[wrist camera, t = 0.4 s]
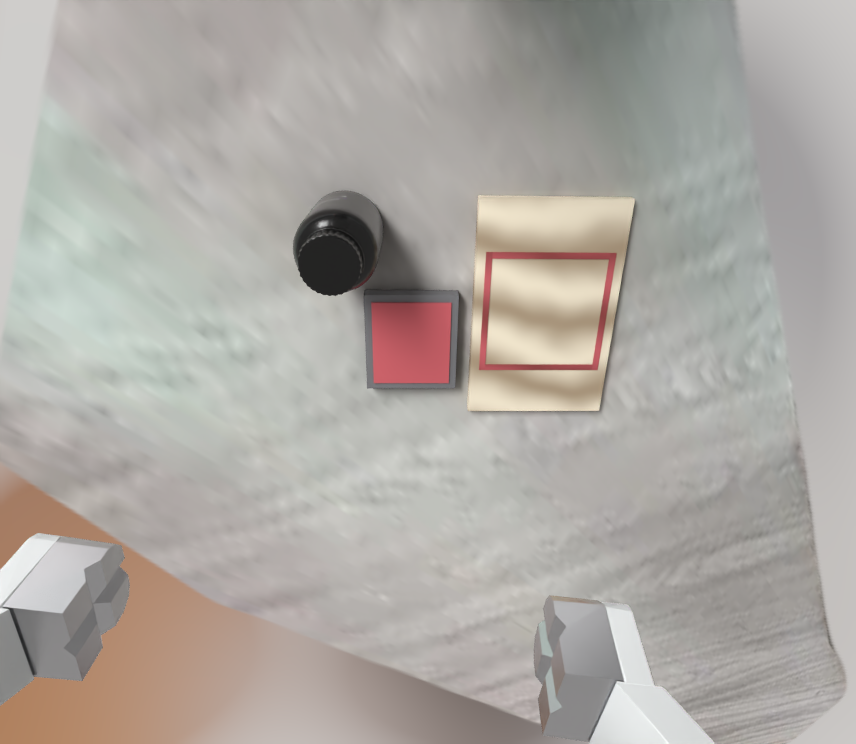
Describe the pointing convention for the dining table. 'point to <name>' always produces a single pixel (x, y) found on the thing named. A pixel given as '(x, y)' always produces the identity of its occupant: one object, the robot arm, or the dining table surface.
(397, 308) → the ink pad
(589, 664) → the robot arm
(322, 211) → the supplement bottle
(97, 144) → the dining table surface
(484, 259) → the marked board
